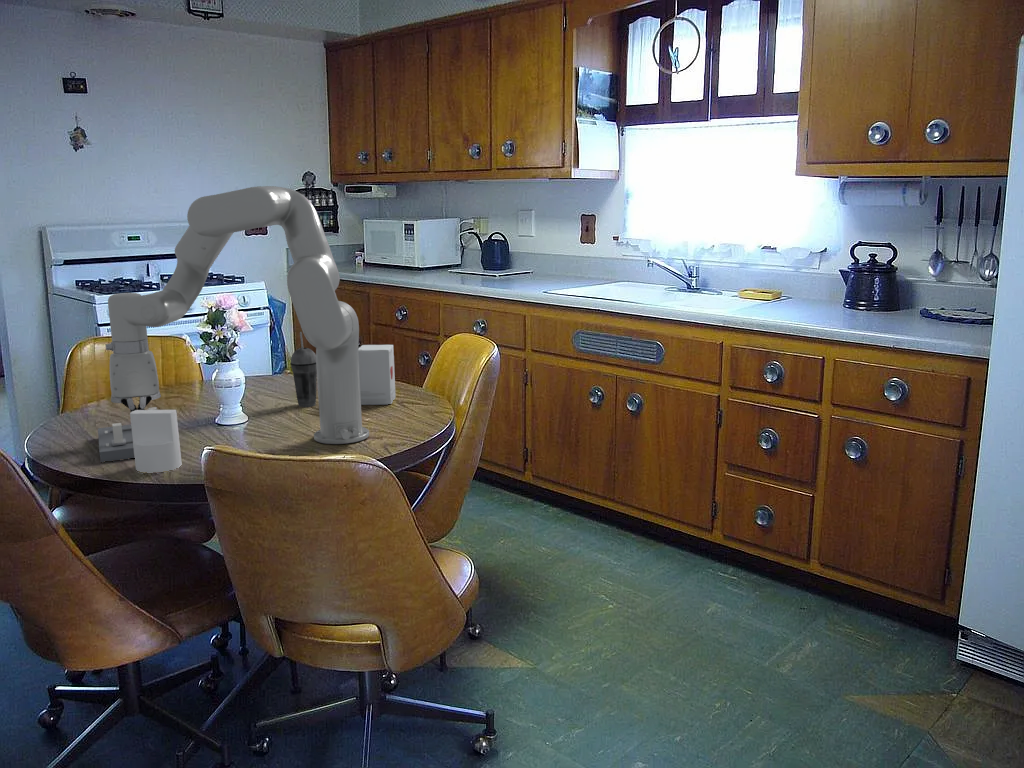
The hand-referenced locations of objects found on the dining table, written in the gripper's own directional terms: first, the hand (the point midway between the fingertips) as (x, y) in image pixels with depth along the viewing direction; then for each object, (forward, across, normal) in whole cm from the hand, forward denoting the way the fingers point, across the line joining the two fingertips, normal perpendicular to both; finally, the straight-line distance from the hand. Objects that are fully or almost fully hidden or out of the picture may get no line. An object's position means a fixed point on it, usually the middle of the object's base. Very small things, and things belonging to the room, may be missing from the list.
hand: (138, 424), depth 208 cm
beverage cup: (+4, +42, +14) cm, 45 cm away
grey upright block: (+4, +2, -26) cm, 26 cm away
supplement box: (+3, +60, +9) cm, 61 cm away
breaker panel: (+3, -1, -6) cm, 7 cm away
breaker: (+1, -5, -12) cm, 13 cm away
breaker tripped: (+1, +3, 0) cm, 3 cm away
